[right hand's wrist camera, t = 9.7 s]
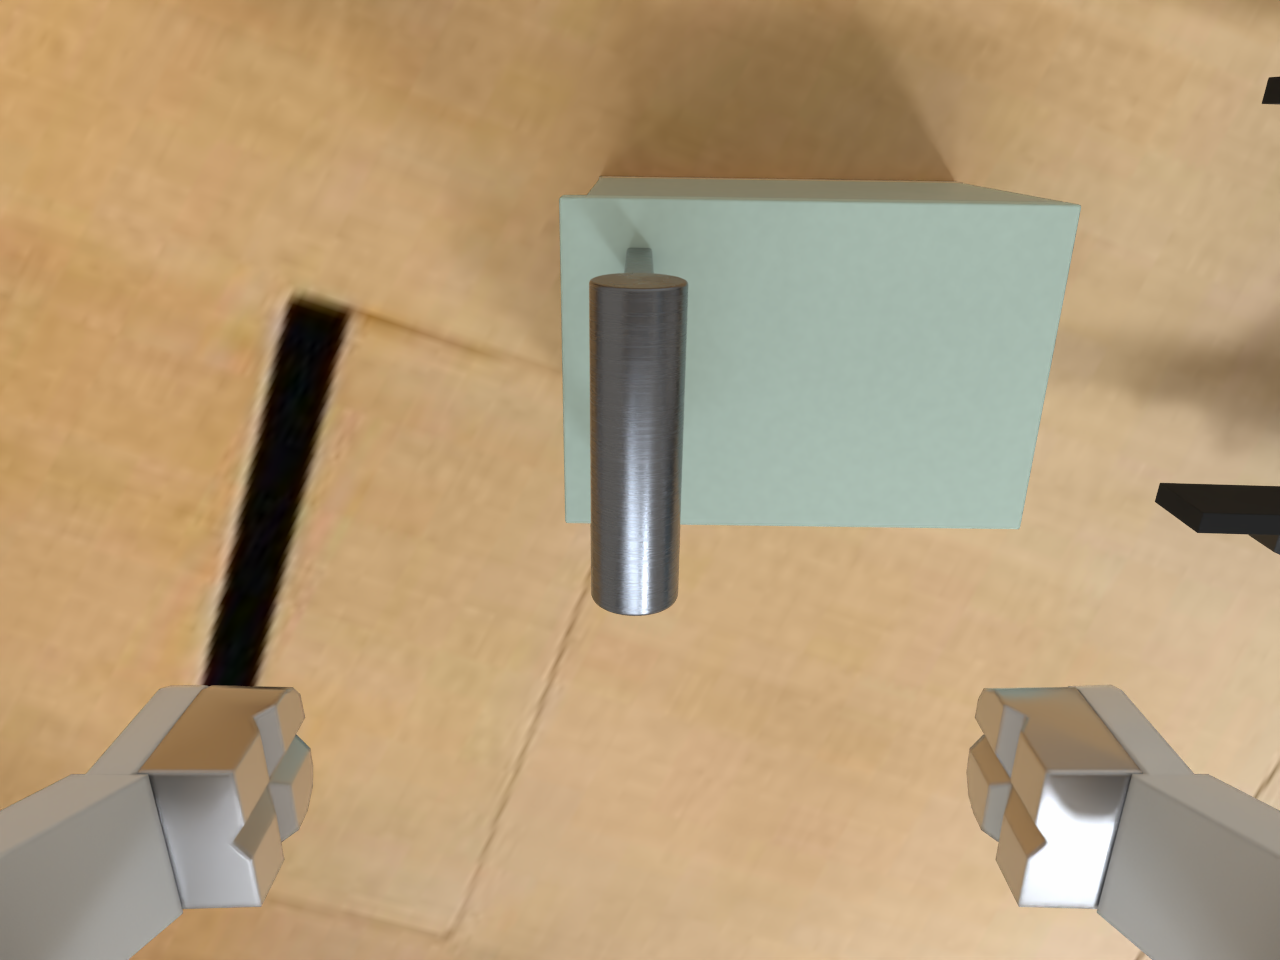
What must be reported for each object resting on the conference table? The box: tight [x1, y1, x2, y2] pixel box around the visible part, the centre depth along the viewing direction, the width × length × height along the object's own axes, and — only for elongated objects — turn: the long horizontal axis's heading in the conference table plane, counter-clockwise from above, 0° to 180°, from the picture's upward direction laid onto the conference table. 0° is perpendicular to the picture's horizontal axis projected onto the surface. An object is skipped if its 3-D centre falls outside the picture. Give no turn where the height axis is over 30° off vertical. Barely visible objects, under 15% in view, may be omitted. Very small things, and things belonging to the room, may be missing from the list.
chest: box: [587, 176, 1062, 202], centre depth 31 cm, size 14×10×10 cm
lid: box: [559, 195, 1081, 616], centre depth 23 cm, size 14×10×8 cm
